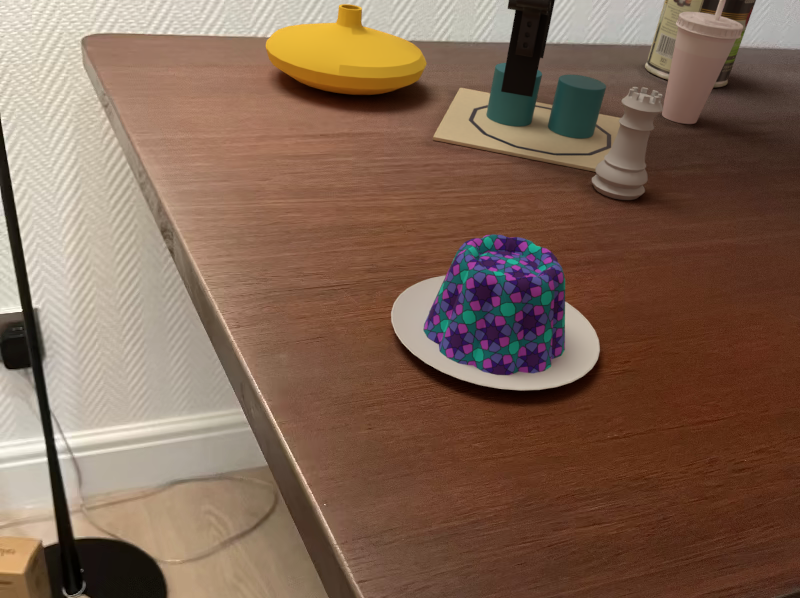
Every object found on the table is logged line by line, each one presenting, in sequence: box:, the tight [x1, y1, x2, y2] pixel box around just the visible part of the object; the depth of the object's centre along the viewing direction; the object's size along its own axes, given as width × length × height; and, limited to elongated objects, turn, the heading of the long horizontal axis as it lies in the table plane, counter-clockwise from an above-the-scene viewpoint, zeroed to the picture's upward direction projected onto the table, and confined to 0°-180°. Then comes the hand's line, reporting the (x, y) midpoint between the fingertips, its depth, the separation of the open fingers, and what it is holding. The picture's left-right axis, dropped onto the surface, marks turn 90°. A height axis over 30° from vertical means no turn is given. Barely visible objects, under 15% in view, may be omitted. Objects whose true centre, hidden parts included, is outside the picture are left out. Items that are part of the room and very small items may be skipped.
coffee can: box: [644, 0, 757, 89], centre depth 96 cm, size 10×10×14 cm
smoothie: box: [661, 0, 743, 125], centre depth 81 cm, size 6×6×14 cm
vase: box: [265, 3, 428, 96], centre depth 79 cm, size 16×16×7 cm
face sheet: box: [432, 87, 622, 173], centre depth 77 cm, size 18×16×1 cm
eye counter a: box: [486, 62, 543, 127], centre depth 76 cm, size 4×4×4 cm
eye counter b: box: [548, 74, 607, 139], centre depth 76 cm, size 4×4×4 cm
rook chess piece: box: [591, 86, 663, 201], centre depth 65 cm, size 4×4×8 cm
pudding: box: [390, 233, 601, 391], centre depth 45 cm, size 12×12×5 cm
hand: (523, 73), depth 75 cm, fingers open, 13 cm apart
